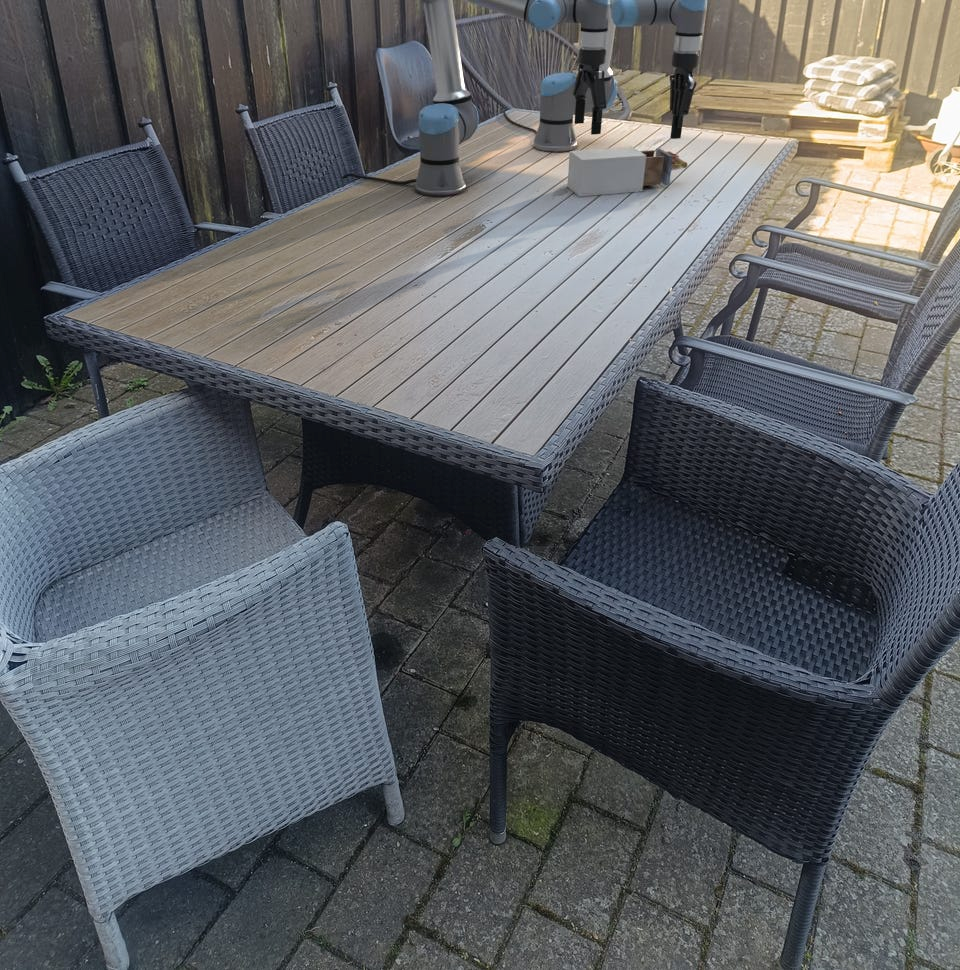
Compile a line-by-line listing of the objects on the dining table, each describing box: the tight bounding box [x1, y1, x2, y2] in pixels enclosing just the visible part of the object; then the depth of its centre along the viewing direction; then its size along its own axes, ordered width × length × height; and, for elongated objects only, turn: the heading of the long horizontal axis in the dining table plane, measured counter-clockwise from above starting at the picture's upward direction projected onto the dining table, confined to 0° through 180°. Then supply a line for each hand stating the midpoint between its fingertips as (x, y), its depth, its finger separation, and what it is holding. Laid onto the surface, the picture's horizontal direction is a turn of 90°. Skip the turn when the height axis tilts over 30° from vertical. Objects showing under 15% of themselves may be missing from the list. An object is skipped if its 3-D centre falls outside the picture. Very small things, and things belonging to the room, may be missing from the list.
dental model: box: [666, 151, 681, 168], centre depth 279 cm, size 6×4×8 cm
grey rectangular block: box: [567, 146, 646, 197], centre depth 256 cm, size 20×10×11 cm, turn 105°
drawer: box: [639, 148, 688, 187], centre depth 259 cm, size 26×9×9 cm, turn 105°
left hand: (587, 128), depth 247 cm, fingers open, 13 cm apart
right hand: (675, 138), depth 256 cm, fingers closed
